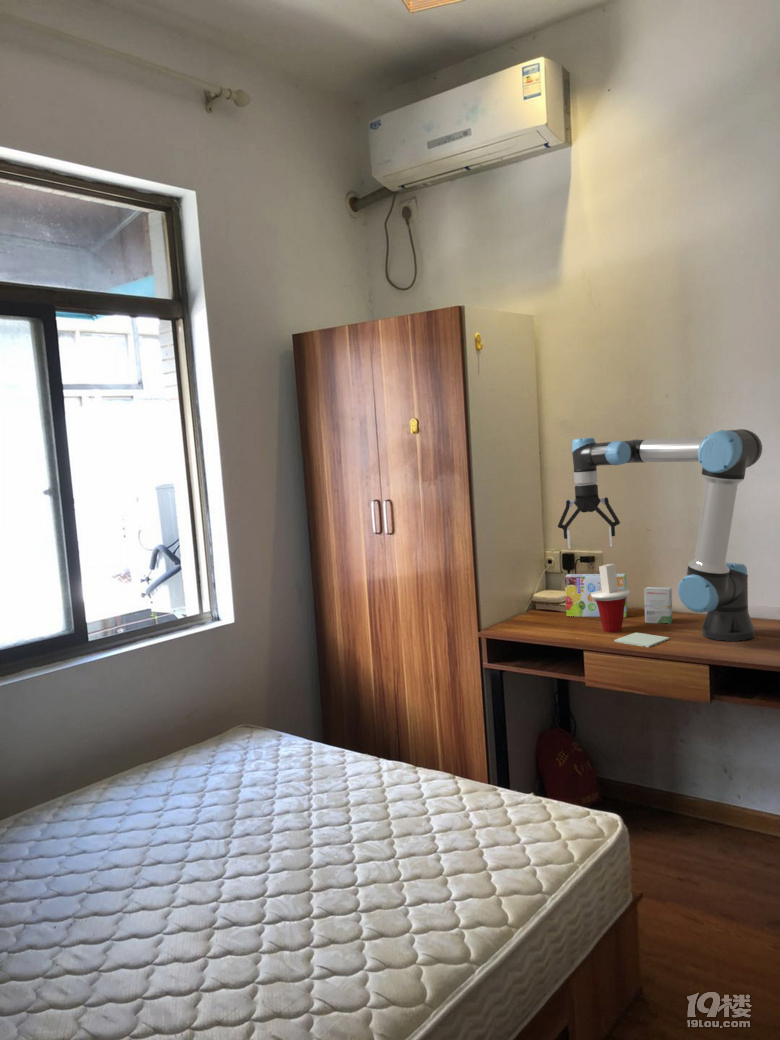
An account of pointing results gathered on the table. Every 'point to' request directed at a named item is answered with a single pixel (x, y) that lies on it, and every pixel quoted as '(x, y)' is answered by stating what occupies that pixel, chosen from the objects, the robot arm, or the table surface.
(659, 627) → the table surface
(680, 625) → the table surface
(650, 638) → the mat
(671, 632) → the table surface
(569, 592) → the snack box
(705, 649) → the table surface
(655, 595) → the ink box
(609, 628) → the plastic cup
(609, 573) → the lid
